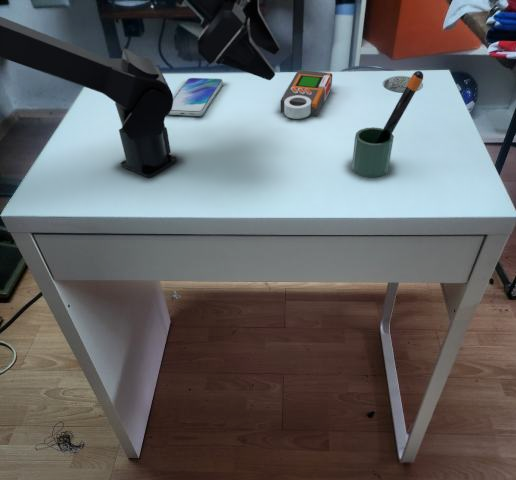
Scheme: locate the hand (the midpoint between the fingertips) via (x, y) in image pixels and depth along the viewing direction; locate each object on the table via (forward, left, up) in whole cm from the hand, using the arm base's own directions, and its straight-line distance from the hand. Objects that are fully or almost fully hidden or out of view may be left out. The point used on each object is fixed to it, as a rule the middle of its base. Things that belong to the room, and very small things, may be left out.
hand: (275, 64), depth 69 cm
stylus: (+5, -14, -13) cm, 20 cm away
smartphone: (+9, +25, -14) cm, 30 cm away
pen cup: (+5, -14, -14) cm, 20 cm away
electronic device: (+19, +7, -14) cm, 25 cm away
